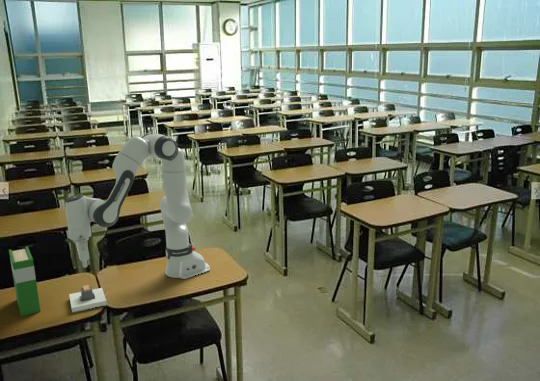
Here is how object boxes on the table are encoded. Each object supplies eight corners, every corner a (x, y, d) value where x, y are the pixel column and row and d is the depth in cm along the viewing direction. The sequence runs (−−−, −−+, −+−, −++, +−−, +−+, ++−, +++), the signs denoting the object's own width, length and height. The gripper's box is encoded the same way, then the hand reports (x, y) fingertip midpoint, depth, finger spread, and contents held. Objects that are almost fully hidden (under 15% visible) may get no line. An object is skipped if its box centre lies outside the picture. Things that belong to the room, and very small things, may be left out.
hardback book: (16, 299, 210) (8, 249, 204) (34, 295, 214) (27, 246, 208) (21, 316, 196) (12, 263, 190) (40, 311, 200) (32, 259, 194)
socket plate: (102, 292, 216) (102, 287, 216) (106, 305, 204) (106, 300, 203) (69, 299, 210) (69, 294, 210) (72, 313, 198) (71, 307, 197)
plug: (92, 298, 210) (91, 284, 208) (93, 302, 206) (92, 288, 204) (81, 300, 208) (80, 286, 206) (82, 304, 204) (81, 290, 202)
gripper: (90, 239, 191) (94, 270, 195) (85, 224, 209) (89, 253, 213) (73, 241, 189) (78, 273, 192) (70, 227, 206) (74, 256, 210)
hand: (84, 262), depth 203 cm, fingers open, 8 cm apart
